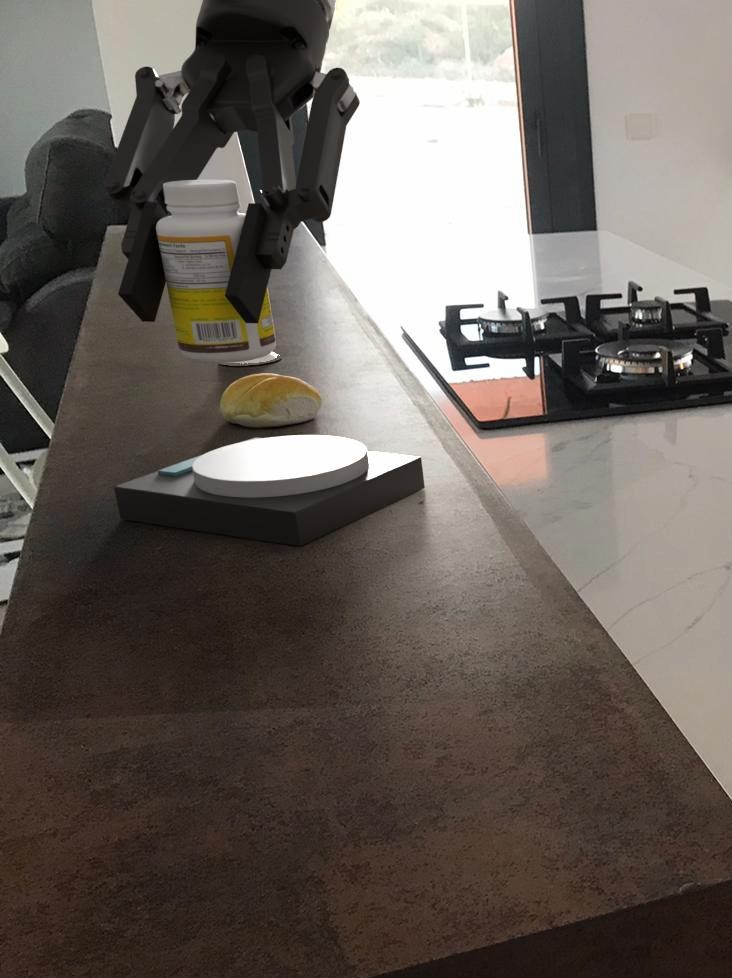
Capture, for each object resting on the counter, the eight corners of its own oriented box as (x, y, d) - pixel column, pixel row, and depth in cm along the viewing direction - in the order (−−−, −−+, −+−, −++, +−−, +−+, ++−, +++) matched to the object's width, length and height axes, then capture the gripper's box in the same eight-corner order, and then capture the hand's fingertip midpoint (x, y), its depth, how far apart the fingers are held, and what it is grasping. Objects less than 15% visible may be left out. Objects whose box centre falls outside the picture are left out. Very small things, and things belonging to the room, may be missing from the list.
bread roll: (285, 401, 124) (279, 360, 122) (337, 416, 119) (331, 374, 117) (203, 418, 118) (195, 375, 117) (253, 434, 113) (245, 390, 111)
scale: (120, 519, 92) (109, 470, 90) (259, 466, 104) (252, 422, 102) (300, 547, 87) (292, 494, 85) (425, 487, 99) (419, 441, 97)
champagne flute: (252, 351, 145) (214, 127, 136) (295, 357, 143) (260, 128, 133) (203, 363, 140) (160, 129, 131) (247, 369, 137) (207, 131, 128)
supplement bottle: (248, 343, 82) (221, 176, 78) (295, 354, 79) (269, 181, 75) (162, 357, 78) (129, 182, 74) (208, 370, 75) (176, 188, 71)
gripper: (428, 53, 86) (368, 347, 77) (160, 53, 87) (71, 343, 78) (391, -41, 79) (320, 271, 70) (99, -40, 80) (-6, 267, 71)
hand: (189, 308), depth 74 cm, fingers closed on supplement bottle, 6 cm apart
